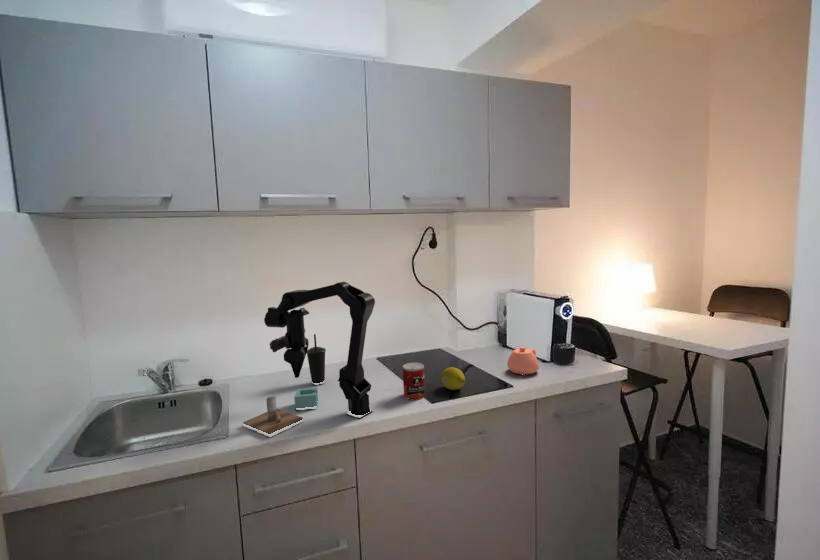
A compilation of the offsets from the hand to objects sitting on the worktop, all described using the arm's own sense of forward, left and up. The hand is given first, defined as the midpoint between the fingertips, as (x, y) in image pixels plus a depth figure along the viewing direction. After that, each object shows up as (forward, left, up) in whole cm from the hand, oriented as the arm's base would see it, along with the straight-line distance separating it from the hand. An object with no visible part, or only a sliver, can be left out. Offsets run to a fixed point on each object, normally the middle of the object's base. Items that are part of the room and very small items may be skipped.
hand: (298, 373), depth 138 cm
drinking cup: (+13, -19, -12) cm, 26 cm away
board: (-3, +13, -12) cm, 18 cm away
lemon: (-37, -40, -12) cm, 56 cm away
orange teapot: (-52, -71, -12) cm, 89 cm away
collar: (-1, -2, -12) cm, 12 cm away
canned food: (-28, -28, -12) cm, 41 cm away
